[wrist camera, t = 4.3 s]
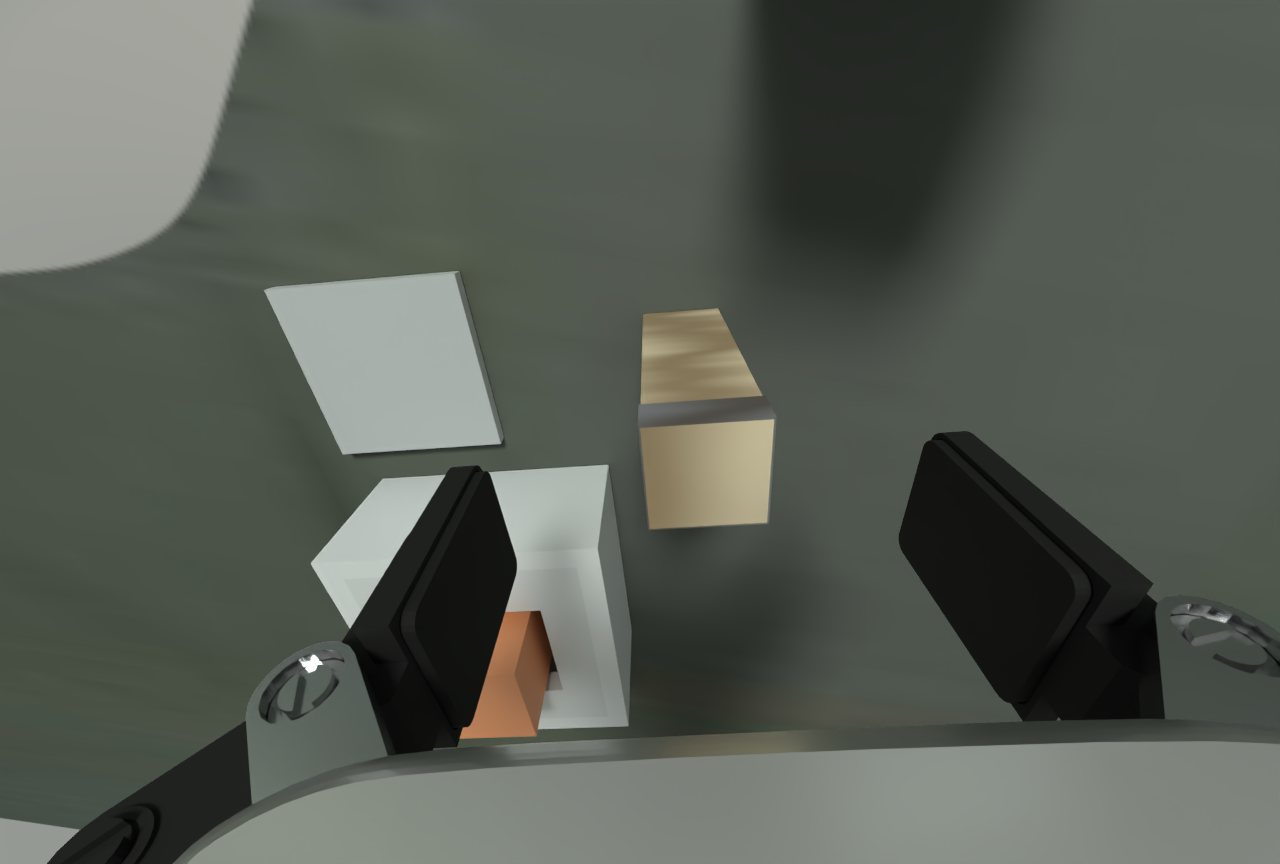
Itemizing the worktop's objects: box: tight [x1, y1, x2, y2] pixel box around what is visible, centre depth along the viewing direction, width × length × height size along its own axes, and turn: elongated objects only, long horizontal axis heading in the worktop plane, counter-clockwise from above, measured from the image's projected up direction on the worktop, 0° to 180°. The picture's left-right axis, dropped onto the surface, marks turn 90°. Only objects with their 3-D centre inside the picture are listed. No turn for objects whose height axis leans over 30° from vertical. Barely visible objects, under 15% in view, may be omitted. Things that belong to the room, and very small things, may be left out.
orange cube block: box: [460, 611, 553, 739], centre depth 22 cm, size 5×5×5 cm
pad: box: [264, 271, 504, 454], centre depth 21 cm, size 8×8×1 cm
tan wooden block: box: [638, 308, 777, 530], centre depth 16 cm, size 3×3×10 cm
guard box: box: [311, 465, 632, 729], centre depth 25 cm, size 12×13×6 cm
